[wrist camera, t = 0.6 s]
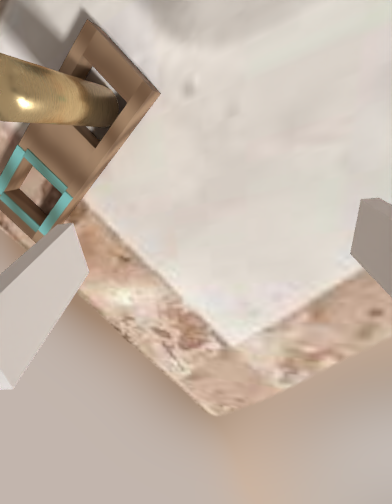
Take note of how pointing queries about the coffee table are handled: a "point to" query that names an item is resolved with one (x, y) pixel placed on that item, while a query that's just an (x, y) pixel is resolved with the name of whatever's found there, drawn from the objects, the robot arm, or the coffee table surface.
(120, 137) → the walnut rail
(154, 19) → the coffee table surface
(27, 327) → the robot arm
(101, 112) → the brass peg
